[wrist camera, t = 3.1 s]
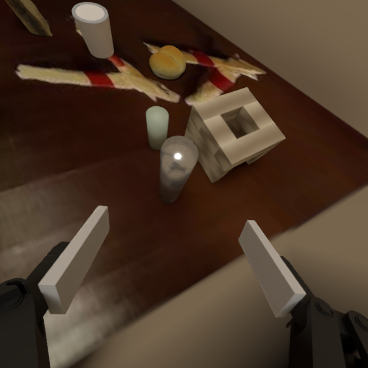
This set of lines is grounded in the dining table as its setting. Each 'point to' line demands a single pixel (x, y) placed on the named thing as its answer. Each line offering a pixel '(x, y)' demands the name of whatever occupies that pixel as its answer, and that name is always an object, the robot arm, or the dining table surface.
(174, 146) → the tall grey cylinder
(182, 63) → the bread roll
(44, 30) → the rock
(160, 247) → the dining table surface
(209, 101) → the beige hollow block
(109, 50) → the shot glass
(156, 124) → the short pin
